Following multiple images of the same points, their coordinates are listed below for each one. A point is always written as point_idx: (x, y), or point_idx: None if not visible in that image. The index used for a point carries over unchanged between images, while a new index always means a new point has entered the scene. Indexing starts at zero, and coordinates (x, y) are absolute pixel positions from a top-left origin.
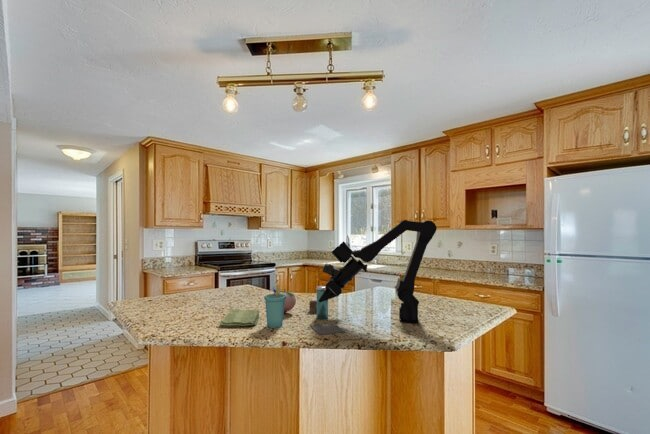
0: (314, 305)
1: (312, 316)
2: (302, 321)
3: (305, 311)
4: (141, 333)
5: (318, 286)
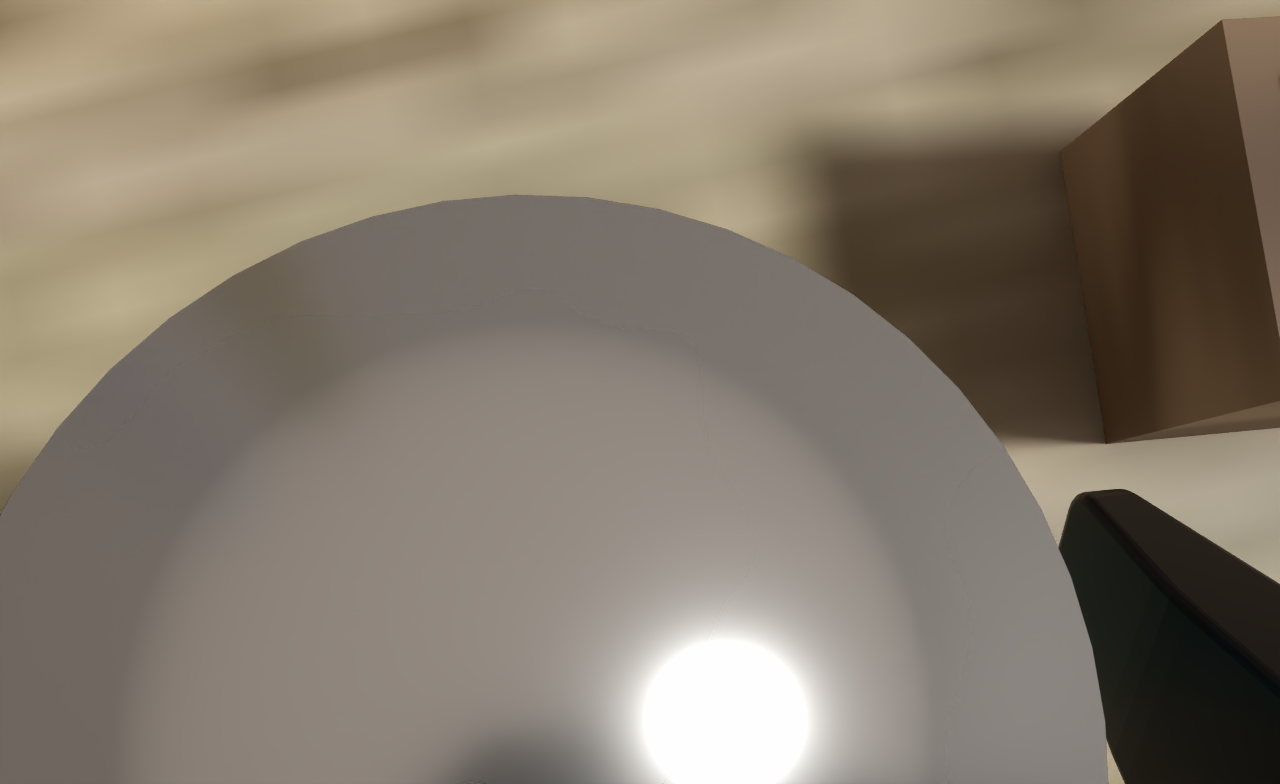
0: (1175, 233)
1: None
2: (72, 187)
3: (1067, 40)
4: None
5: (753, 317)
